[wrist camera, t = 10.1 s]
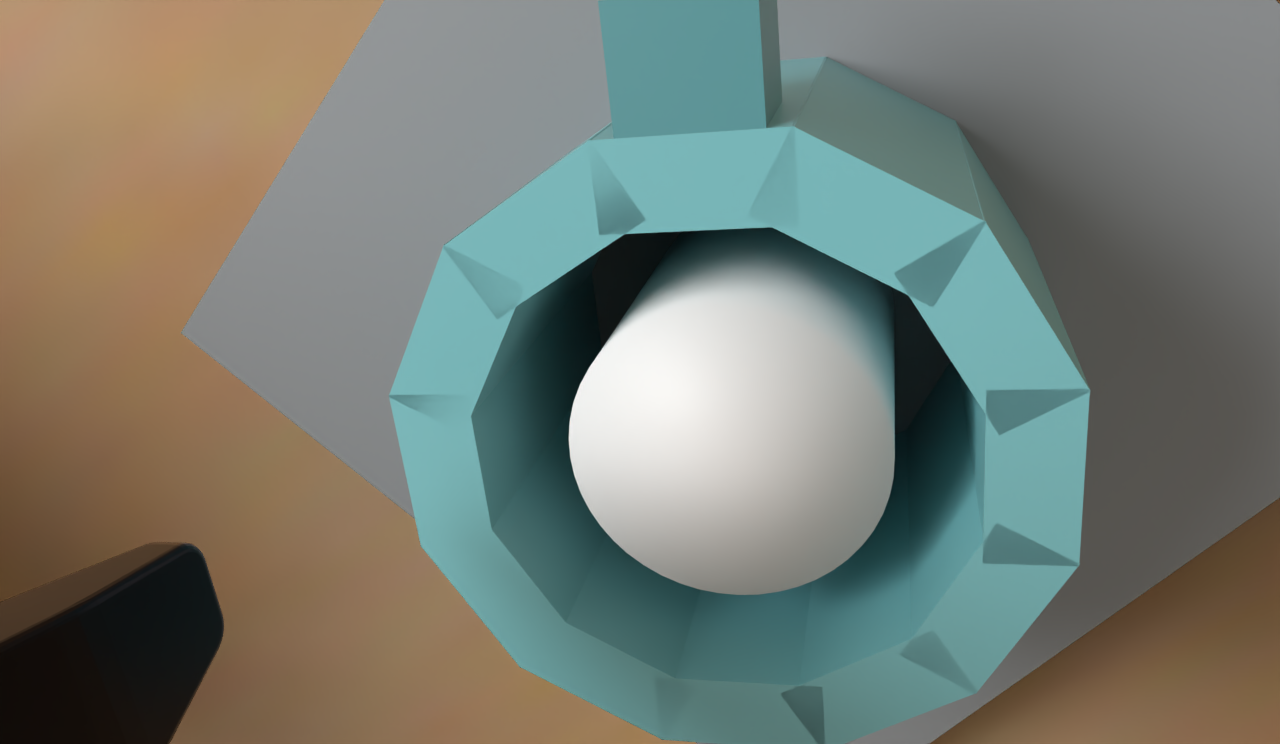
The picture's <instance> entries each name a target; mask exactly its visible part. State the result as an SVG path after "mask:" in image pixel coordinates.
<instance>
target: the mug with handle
mask: <svg viewBox="0 0 1280 744" xmlns="http://www.w3.org/2000/svg"><path fill="white" fill-rule="evenodd" d="M598 6H599V15H600V23H601V32H602V41H603V50H604V58H605V67H606V76H607V85H608V94H609V102H610V111H611V120H612V122H611V123H609V124H608V125H606V126H605V127H604V128H602V129H601V130H600V131H598V132H597V133H595V134H594V135H593V136H591V137H590V138H589V139H587V140H586V141H584V142H583V143H582V144H580V145H578V146H577V147H576V148H574V149H573V150H571V151H570V152H569V153H567V154H566V155H565V156H563V157H562V158H561V159H559V160H558V161H557V162H555V163H554V164H553V165H551V166H550V167H548V168H547V169H546V170H544V171H543V172H542V173H540V174H539V175H538V176H536V177H535V178H534V179H532V180H531V181H530V182H528V183H527V184H525V185H524V186H523V187H521V188H520V189H519V190H517V191H516V192H515V193H513V194H512V195H511V196H509V197H508V198H507V199H505V200H504V201H502V202H501V203H500V204H498V205H497V206H496V207H494V208H493V209H492V210H490V211H489V212H488V213H486V214H485V215H484V216H482V217H481V218H479V219H478V220H477V221H475V222H474V223H473V224H471V225H470V226H469V227H467V228H466V229H465V230H463V231H462V232H461V233H459V234H458V235H457V236H455V237H454V238H452V239H451V240H450V241H448V242H447V243H446V244H444V246H443V248H442V251H441V254H440V257H439V259H438V262H437V265H436V268H435V270H434V273H433V276H432V279H431V281H430V284H429V287H428V290H427V292H426V295H425V298H424V301H423V303H422V306H421V309H420V312H419V315H418V317H417V320H416V323H415V326H414V328H413V331H412V334H411V337H410V339H409V342H408V345H407V348H406V350H405V353H404V356H403V359H402V361H401V364H400V367H399V370H398V372H397V375H396V378H395V381H394V383H393V386H392V389H391V392H390V394H389V399H390V404H391V408H392V413H393V418H394V422H395V427H396V432H397V436H398V441H399V446H400V450H401V455H402V460H403V464H404V469H405V474H406V478H407V483H408V488H409V492H410V497H411V502H412V507H413V511H414V516H415V521H416V525H417V530H418V535H419V539H420V544H421V545H420V546H421V547H422V548H423V549H424V550H425V552H426V553H427V554H428V555H429V557H430V558H431V559H432V560H433V561H434V563H435V564H436V565H437V566H438V568H439V569H440V570H441V571H442V572H443V574H444V575H445V576H446V577H447V579H448V580H449V581H450V582H451V583H452V585H453V586H454V587H455V588H456V590H457V591H458V592H459V593H460V594H461V596H462V597H463V598H464V599H465V601H466V602H467V603H468V604H469V605H470V607H471V608H472V609H473V610H474V612H475V613H476V614H477V615H478V616H479V618H480V619H481V620H482V621H483V623H484V624H485V625H486V626H487V627H488V629H489V630H490V631H491V632H492V634H493V635H494V636H495V637H496V638H497V640H498V641H499V642H500V643H501V645H502V646H503V647H504V648H505V649H506V651H507V652H508V653H509V654H510V656H511V657H512V658H513V659H514V660H515V662H516V663H517V664H518V665H519V667H520V668H523V669H525V670H527V671H529V672H531V673H533V674H535V675H537V676H539V677H541V678H543V679H545V680H547V681H548V682H550V683H552V684H554V685H556V686H558V687H560V688H562V689H564V690H566V691H568V692H570V693H572V694H574V695H576V696H578V697H580V698H582V699H584V700H586V701H588V702H590V703H592V704H594V705H596V706H598V707H599V708H601V709H603V710H605V711H607V712H609V713H611V714H613V715H615V716H617V717H619V718H621V719H623V720H625V721H627V722H629V723H631V724H633V725H635V726H637V727H639V728H641V729H643V730H645V731H647V732H648V733H650V734H652V735H654V736H656V737H658V738H660V739H661V740H675V741H688V742H702V743H716V744H845V743H848V742H850V741H853V740H855V739H858V738H861V737H863V736H866V735H868V734H871V733H874V732H876V731H879V730H881V729H884V728H887V727H889V726H892V725H894V724H897V723H900V722H902V721H905V720H908V719H910V718H913V717H915V716H918V715H921V714H923V713H926V712H928V711H931V710H934V709H936V708H939V707H941V706H944V705H947V704H949V703H952V702H954V701H957V700H960V699H962V698H965V697H968V696H970V695H973V694H976V693H977V692H978V690H979V689H980V688H981V687H982V685H983V684H984V683H985V682H986V681H987V679H988V678H989V677H990V676H991V674H992V673H993V672H994V671H995V669H996V668H997V667H998V666H999V664H1000V663H1001V662H1002V661H1003V659H1004V658H1005V657H1006V656H1007V654H1008V653H1009V652H1010V651H1011V649H1012V648H1013V647H1014V646H1015V644H1016V643H1017V642H1018V641H1019V639H1020V638H1021V637H1022V636H1023V634H1024V633H1025V632H1026V631H1027V630H1028V628H1029V627H1030V626H1031V625H1032V623H1033V622H1034V621H1035V620H1036V618H1037V617H1038V616H1039V615H1040V613H1041V612H1042V611H1043V610H1044V608H1045V607H1046V606H1047V605H1048V603H1049V602H1050V601H1051V600H1052V598H1053V597H1054V596H1055V595H1056V593H1057V592H1058V591H1059V590H1060V588H1061V587H1062V586H1063V585H1064V584H1065V582H1066V581H1067V580H1068V579H1069V577H1070V576H1071V575H1072V574H1073V572H1074V571H1075V570H1076V569H1077V567H1078V566H1079V565H1080V563H1079V560H1080V544H1081V528H1082V511H1083V495H1084V479H1085V462H1086V446H1087V430H1088V413H1089V397H1090V388H1089V385H1088V383H1087V381H1086V378H1085V376H1084V373H1083V371H1082V368H1081V366H1080V364H1079V361H1078V359H1077V356H1076V354H1075V352H1074V349H1073V347H1072V344H1071V342H1070V339H1069V337H1068V335H1067V332H1066V330H1065V327H1064V325H1063V322H1062V320H1061V318H1060V315H1059V313H1058V310H1057V308H1056V305H1055V303H1054V301H1053V298H1052V296H1051V293H1050V291H1049V288H1048V286H1047V284H1046V281H1045V279H1044V276H1043V274H1042V271H1041V269H1040V267H1039V264H1038V262H1037V259H1036V257H1035V254H1034V252H1033V250H1032V247H1031V245H1030V242H1029V240H1028V238H1027V237H1026V235H1025V234H1024V232H1023V230H1022V229H1021V227H1020V225H1019V224H1018V222H1017V221H1016V219H1015V217H1014V216H1013V214H1012V212H1011V211H1010V209H1009V207H1008V206H1007V204H1006V203H1005V201H1004V199H1003V198H1002V196H1001V194H1000V193H999V191H998V190H997V188H996V186H995V185H994V183H993V181H992V180H991V178H990V176H989V175H988V173H987V172H986V170H985V168H984V167H983V165H982V163H981V162H980V160H979V159H978V157H977V155H976V154H975V152H974V150H973V149H972V147H971V145H970V144H969V142H968V141H967V139H966V137H965V136H964V134H963V132H962V131H961V129H960V127H959V126H958V124H957V122H956V121H955V120H953V119H951V118H949V117H947V116H945V115H943V114H941V113H939V112H937V111H935V110H933V109H931V108H929V107H927V106H925V105H923V104H921V103H919V102H917V101H915V100H913V99H911V98H908V97H906V96H904V95H902V94H900V93H898V92H896V91H894V90H892V89H890V88H888V87H886V86H884V85H882V84H880V83H878V82H876V81H874V80H872V79H870V78H868V77H866V76H864V75H862V74H860V73H858V72H856V71H854V70H852V69H850V68H848V67H846V66H844V65H842V64H840V63H838V62H836V61H834V60H832V59H830V58H828V57H826V56H825V57H816V58H804V59H792V60H780V47H779V28H778V9H777V0H599V1H598ZM766 227H772V228H774V229H776V230H778V231H780V232H782V233H784V234H786V235H788V236H790V237H792V238H794V239H796V240H798V241H800V242H802V243H804V244H806V245H808V246H810V247H812V248H814V249H816V250H818V251H820V252H822V253H825V254H827V255H829V256H831V257H833V258H835V259H837V260H839V261H841V262H843V263H845V264H847V265H849V266H851V267H853V268H855V269H857V270H859V271H861V272H863V273H865V274H867V275H869V276H871V277H873V278H875V279H877V280H879V281H881V282H883V283H885V284H887V285H889V286H891V287H893V288H895V289H897V290H899V291H901V292H903V293H905V294H907V295H908V296H909V297H910V299H911V300H912V302H913V303H914V305H915V306H916V308H917V309H918V311H919V312H920V314H921V316H922V317H923V319H924V320H925V322H926V323H927V325H928V326H929V328H930V329H931V331H932V332H933V334H934V336H935V337H936V339H937V340H938V342H939V343H940V345H941V346H942V348H943V349H944V351H945V352H946V354H947V356H948V357H949V359H950V360H951V362H950V363H949V365H948V366H947V368H946V369H945V371H944V373H943V374H942V376H941V377H940V379H939V380H938V382H937V383H936V385H935V386H934V388H933V389H932V391H931V393H930V394H929V396H928V397H927V399H926V400H925V402H924V403H923V405H922V406H921V408H920V409H919V411H918V412H917V414H916V416H915V417H914V419H913V420H912V422H911V423H910V425H909V426H908V428H907V429H906V430H904V431H903V432H901V433H899V434H897V435H895V461H894V478H893V483H892V488H891V492H890V497H889V499H888V502H887V505H886V507H885V510H884V513H883V515H882V517H881V518H880V520H879V522H878V524H877V526H876V527H875V529H874V531H873V532H872V533H871V535H870V536H869V537H868V539H867V540H866V541H865V543H864V544H863V545H862V546H861V547H860V548H859V549H858V550H857V551H856V552H855V553H854V554H853V555H852V556H851V557H850V558H849V559H848V560H846V561H845V562H844V563H842V564H841V565H840V566H838V567H837V568H835V569H834V570H833V571H831V572H829V573H827V574H825V575H824V576H822V577H820V578H818V579H816V580H814V581H811V582H809V583H806V584H804V585H801V586H799V587H795V588H791V589H788V590H784V591H780V592H774V593H766V594H759V595H733V594H722V593H715V592H710V591H705V590H700V589H696V588H693V587H690V586H687V585H684V584H680V583H678V582H676V581H673V580H671V579H669V578H666V577H664V576H662V575H660V574H658V573H656V572H655V571H653V570H651V569H649V568H648V567H646V566H644V565H643V564H641V563H640V562H639V561H637V560H636V559H634V558H633V557H632V556H630V555H629V554H628V553H626V552H625V551H624V550H623V549H622V548H621V547H620V546H619V545H618V544H617V543H615V542H614V541H613V540H612V539H611V537H610V536H609V535H608V534H607V533H606V532H605V531H604V529H603V528H602V527H601V526H600V525H599V523H598V522H597V520H596V519H595V517H594V516H593V514H592V513H591V511H590V510H589V508H588V506H587V504H586V502H585V500H584V498H583V497H582V495H581V492H580V490H579V487H578V484H577V482H576V479H575V476H574V472H573V468H572V463H571V459H570V449H569V424H570V417H571V412H572V407H573V402H574V399H575V397H576V394H577V391H578V389H579V386H580V384H581V382H582V380H583V378H584V376H585V374H586V373H587V371H588V369H589V367H590V366H591V364H592V363H593V361H594V360H595V358H596V357H597V355H598V354H599V352H600V351H601V349H602V347H601V339H600V332H599V324H598V316H597V308H596V300H595V292H594V285H593V277H592V271H593V268H594V266H595V264H596V262H597V259H598V257H599V255H600V252H601V250H602V249H603V248H605V247H606V246H608V245H609V244H611V243H612V242H614V241H615V240H617V239H618V238H620V237H621V236H623V235H624V234H635V233H657V232H678V231H700V230H722V229H744V228H766Z"/></svg>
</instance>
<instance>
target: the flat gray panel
mask: <svg viewBox="0 0 1280 744" xmlns="http://www.w3.org/2000/svg"><path fill="white" fill-rule="evenodd" d="M598 1H599V0H384V2H383V4H382V5H381V7H380V8H379V10H378V12H377V13H376V15H375V17H374V18H373V20H372V22H371V23H370V25H369V26H368V28H367V30H366V31H365V33H364V35H363V36H362V38H361V39H360V41H359V43H358V44H357V46H356V48H355V49H354V51H353V53H352V54H351V56H350V57H349V59H348V61H347V62H346V64H345V66H344V67H343V69H342V71H341V72H340V74H339V75H338V77H337V79H336V80H335V82H334V84H333V85H332V87H331V88H330V90H329V92H328V93H327V95H326V97H325V98H324V100H323V102H322V103H321V105H320V106H319V108H318V110H317V111H316V113H315V115H314V116H313V118H312V119H311V121H310V123H309V124H308V126H307V128H306V129H305V131H304V133H303V134H302V136H301V137H300V139H299V141H298V142H297V144H296V146H295V147H294V149H293V150H292V152H291V154H290V155H289V157H288V159H287V160H286V162H285V164H284V165H283V167H282V168H281V170H280V172H279V173H278V175H277V177H276V178H275V180H274V181H273V183H272V185H271V186H270V188H269V190H268V191H267V193H266V195H265V196H264V198H263V199H262V201H261V203H260V204H259V206H258V208H257V209H256V211H255V212H254V214H253V216H252V217H251V219H250V221H249V222H248V224H247V226H246V227H245V229H244V230H243V232H242V234H241V235H240V237H239V239H238V240H237V242H236V243H235V245H234V247H233V248H232V250H231V252H230V253H229V255H228V257H227V258H226V260H225V261H224V263H223V265H222V266H221V268H220V270H219V271H218V273H217V274H216V276H215V278H214V279H213V281H212V283H211V284H210V286H209V288H208V289H207V291H206V292H205V294H204V296H203V297H202V299H201V301H200V302H199V304H198V305H197V307H196V309H195V310H194V312H193V314H192V315H191V317H190V319H189V320H188V322H187V323H186V325H185V327H184V328H183V330H182V332H181V333H182V334H183V335H184V336H185V337H187V338H188V339H189V340H190V341H192V342H193V343H194V344H195V345H197V346H198V347H199V348H200V349H202V350H203V351H204V352H206V353H207V354H208V355H209V356H211V357H212V358H213V359H214V360H216V361H217V362H218V363H219V364H221V365H222V366H223V367H224V368H226V369H227V370H228V371H229V372H231V373H232V374H233V375H234V376H236V377H237V378H238V379H239V380H241V381H242V382H243V383H244V384H246V385H247V386H248V387H250V388H251V389H252V390H253V391H255V392H256V393H257V394H258V395H260V396H261V397H262V398H263V399H265V400H266V401H267V402H268V403H270V404H271V405H272V406H273V407H275V408H276V409H277V410H278V411H280V412H281V413H282V414H283V415H285V416H286V417H287V418H288V419H290V420H291V421H292V422H294V423H295V424H296V425H297V426H299V427H300V428H301V429H302V430H304V431H305V432H306V433H307V434H309V435H310V436H311V437H312V438H314V439H315V440H316V441H317V442H319V443H320V444H321V445H322V446H324V447H325V448H326V449H327V450H329V451H330V452H331V453H333V454H334V455H335V456H336V457H338V458H339V459H340V460H341V461H343V462H344V463H345V464H346V465H348V466H349V467H350V468H351V469H353V470H354V471H355V472H356V473H358V474H359V475H360V476H361V477H363V478H364V479H365V480H366V481H368V482H369V483H370V484H371V485H373V486H374V487H375V488H377V489H378V490H379V491H380V492H382V493H383V494H384V495H385V496H387V497H388V498H389V499H390V500H392V501H393V502H394V503H395V504H397V505H398V506H399V507H400V508H402V509H403V510H404V511H405V512H407V513H408V514H409V515H410V516H412V517H413V518H414V519H415V516H414V511H413V507H412V502H411V497H410V492H409V488H408V483H407V478H406V474H405V469H404V464H403V460H402V455H401V450H400V446H399V441H398V436H397V432H396V427H395V422H394V418H393V413H392V408H391V404H390V399H389V394H390V392H391V389H392V386H393V383H394V381H395V378H396V375H397V372H398V370H399V367H400V364H401V361H402V359H403V356H404V353H405V350H406V348H407V345H408V342H409V339H410V337H411V334H412V331H413V328H414V326H415V323H416V320H417V317H418V315H419V312H420V309H421V306H422V303H423V301H424V298H425V295H426V292H427V290H428V287H429V284H430V281H431V279H432V276H433V273H434V270H435V268H436V265H437V262H438V259H439V257H440V254H441V251H442V248H443V246H444V244H446V243H447V242H448V241H450V240H451V239H452V238H454V237H455V236H457V235H458V234H459V233H461V232H462V231H463V230H465V229H466V228H467V227H469V226H470V225H471V224H473V223H474V222H475V221H477V220H478V219H479V218H481V217H482V216H484V215H485V214H486V213H488V212H489V211H490V210H492V209H493V208H494V207H496V206H497V205H498V204H500V203H501V202H502V201H504V200H505V199H507V198H508V197H509V196H511V195H512V194H513V193H515V192H516V191H517V190H519V189H520V188H521V187H523V186H524V185H525V184H527V183H528V182H530V181H531V180H532V179H534V178H535V177H536V176H538V175H539V174H540V173H542V172H543V171H544V170H546V169H547V168H548V167H550V166H551V165H553V164H554V163H555V162H557V161H558V160H559V159H561V158H562V157H563V156H565V155H566V154H567V153H569V152H570V151H571V150H573V149H574V148H576V147H577V146H578V145H580V144H582V143H583V142H584V141H586V140H587V139H589V138H590V137H591V136H593V135H594V134H595V133H597V132H598V131H600V130H601V129H602V128H604V127H605V126H606V125H608V124H609V123H611V122H612V120H611V111H610V102H609V94H608V85H607V76H606V67H605V58H604V50H603V41H602V32H601V23H600V15H599V6H598ZM777 9H778V28H779V47H780V60H792V59H804V58H816V57H825V56H826V57H828V58H830V59H832V60H834V61H836V62H838V63H840V64H842V65H844V66H846V67H848V68H850V69H852V70H854V71H856V72H858V73H860V74H862V75H864V76H866V77H868V78H870V79H872V80H874V81H876V82H878V83H880V84H882V85H884V86H886V87H888V88H890V89H892V90H894V91H896V92H898V93H900V94H902V95H904V96H906V97H908V98H911V99H913V100H915V101H917V102H919V103H921V104H923V105H925V106H927V107H929V108H931V109H933V110H935V111H937V112H939V113H941V114H943V115H945V116H947V117H949V118H951V119H953V120H955V121H956V122H957V124H958V126H959V127H960V129H961V131H962V132H963V134H964V136H965V137H966V139H967V141H968V142H969V144H970V145H971V147H972V149H973V150H974V152H975V154H976V155H977V157H978V159H979V160H980V162H981V163H982V165H983V167H984V168H985V170H986V172H987V173H988V175H989V176H990V178H991V180H992V181H993V183H994V185H995V186H996V188H997V190H998V191H999V193H1000V194H1001V196H1002V198H1003V199H1004V201H1005V203H1006V204H1007V206H1008V207H1009V209H1010V211H1011V212H1012V214H1013V216H1014V217H1015V219H1016V221H1017V222H1018V224H1019V225H1020V227H1021V229H1022V230H1023V232H1024V234H1025V235H1026V237H1027V238H1028V240H1029V242H1030V245H1031V247H1032V250H1033V252H1034V254H1035V257H1036V259H1037V262H1038V264H1039V267H1040V269H1041V271H1042V274H1043V276H1044V279H1045V281H1046V284H1047V286H1048V288H1049V291H1050V293H1051V296H1052V298H1053V301H1054V303H1055V305H1056V308H1057V310H1058V313H1059V315H1060V318H1061V320H1062V322H1063V325H1064V327H1065V330H1066V332H1067V335H1068V337H1069V339H1070V342H1071V344H1072V347H1073V349H1074V352H1075V354H1076V356H1077V359H1078V361H1079V364H1080V366H1081V368H1082V371H1083V373H1084V376H1085V378H1086V381H1087V383H1088V385H1089V388H1090V397H1089V413H1088V430H1087V446H1086V462H1085V479H1084V495H1083V511H1082V528H1081V544H1080V560H1079V563H1080V565H1079V566H1078V567H1077V569H1076V570H1075V571H1074V572H1073V574H1072V575H1071V576H1070V577H1069V579H1068V580H1067V581H1066V582H1065V584H1064V585H1063V586H1062V587H1061V588H1060V590H1059V591H1058V592H1057V593H1056V595H1055V596H1054V597H1053V598H1052V600H1051V601H1050V602H1049V603H1048V605H1047V606H1046V607H1045V608H1044V610H1043V611H1042V612H1041V613H1040V615H1039V616H1038V617H1037V618H1036V620H1035V621H1034V622H1033V623H1032V625H1031V626H1030V627H1029V628H1028V630H1027V631H1026V632H1025V633H1024V634H1023V636H1022V637H1021V638H1020V639H1019V641H1018V642H1017V643H1016V644H1015V646H1014V647H1013V648H1012V649H1011V651H1010V652H1009V653H1008V654H1007V656H1006V657H1005V658H1004V659H1003V661H1002V662H1001V663H1000V664H999V666H998V667H997V668H996V669H995V671H994V672H993V673H992V674H991V676H990V677H989V678H988V679H987V681H986V682H985V683H984V684H983V685H982V687H981V688H980V689H979V690H978V692H977V693H976V694H973V695H970V696H968V697H965V698H962V699H960V700H957V701H954V702H952V703H949V704H947V705H944V706H941V707H939V708H936V709H934V710H931V711H928V712H926V713H923V714H921V715H918V716H915V717H913V718H910V719H908V720H905V721H902V722H900V723H897V724H894V725H892V726H889V727H887V728H884V729H881V730H879V731H876V732H874V733H871V734H868V735H866V736H863V737H861V738H858V739H855V740H853V741H850V742H848V743H845V744H929V743H931V742H932V741H934V740H935V739H937V738H938V737H939V736H941V735H942V734H944V733H945V732H947V731H948V730H949V729H951V728H952V727H954V726H955V725H957V724H958V723H959V722H961V721H962V720H964V719H965V718H967V717H968V716H969V715H971V714H972V713H974V712H975V711H976V710H978V709H979V708H981V707H982V706H984V705H985V704H986V703H988V702H989V701H991V700H992V699H994V698H995V697H996V696H998V695H999V694H1001V693H1002V692H1004V691H1005V690H1006V689H1008V688H1009V687H1011V686H1012V685H1014V684H1015V683H1016V682H1018V681H1019V680H1021V679H1022V678H1023V677H1025V676H1026V675H1028V674H1029V673H1031V672H1032V671H1033V670H1035V669H1036V668H1038V667H1039V666H1041V665H1042V664H1043V663H1045V662H1046V661H1048V660H1049V659H1051V658H1052V657H1053V656H1055V655H1056V654H1058V653H1059V652H1061V651H1062V650H1063V649H1065V648H1066V647H1068V646H1069V645H1071V644H1072V643H1073V642H1075V641H1076V640H1078V639H1079V638H1080V637H1082V636H1083V635H1085V634H1086V633H1088V632H1089V631H1090V630H1092V629H1093V628H1095V627H1096V626H1098V625H1099V624H1100V623H1102V622H1103V621H1105V620H1106V619H1108V618H1109V617H1110V616H1112V615H1113V614H1115V613H1116V612H1118V611H1119V610H1120V609H1122V608H1123V607H1125V606H1126V605H1128V604H1129V603H1130V602H1132V601H1133V600H1135V599H1136V598H1137V597H1139V596H1140V595H1142V594H1143V593H1145V592H1146V591H1147V590H1149V589H1150V588H1152V587H1153V586H1155V585H1156V584H1157V583H1159V582H1160V581H1162V580H1163V579H1165V578H1166V577H1167V576H1169V575H1170V574H1172V573H1173V572H1175V571H1176V570H1177V569H1179V568H1180V567H1182V566H1183V565H1185V564H1186V563H1187V562H1189V561H1190V560H1192V559H1193V558H1194V557H1196V556H1197V555H1199V554H1200V553H1202V552H1203V551H1204V550H1206V549H1207V548H1209V547H1210V546H1212V545H1213V544H1214V543H1216V542H1217V541H1219V540H1220V539H1222V538H1223V537H1224V536H1226V535H1227V534H1229V533H1230V532H1232V531H1233V530H1234V529H1236V528H1237V527H1239V526H1240V525H1242V524H1243V523H1244V522H1246V521H1247V520H1249V519H1250V518H1251V517H1253V516H1254V515H1256V514H1257V513H1259V512H1260V511H1261V510H1263V509H1264V508H1266V507H1267V506H1269V505H1270V504H1271V503H1273V502H1274V501H1276V500H1277V499H1279V498H1280V4H1279V3H1278V2H1277V1H1276V0H777ZM592 277H593V285H594V292H595V300H596V308H597V316H598V324H599V332H600V339H601V347H602V349H601V351H600V352H599V354H598V355H597V357H596V358H595V360H594V361H593V363H592V364H591V366H590V367H589V369H588V371H587V373H586V374H585V376H584V378H583V380H582V382H581V384H580V386H579V389H578V391H577V394H576V397H575V399H574V402H573V407H572V412H571V417H570V424H569V449H570V459H571V463H572V468H573V472H574V476H575V479H576V482H577V484H578V487H579V490H580V492H581V495H582V497H583V498H584V500H585V502H586V504H587V506H588V508H589V510H590V511H591V513H592V514H593V516H594V517H595V519H596V520H597V522H598V523H599V525H600V526H601V527H602V528H603V529H604V531H605V532H606V533H607V534H608V535H609V536H610V537H611V539H612V540H613V541H614V542H615V543H617V544H618V545H619V546H620V547H621V548H622V549H623V550H624V551H625V552H626V553H628V554H629V555H630V556H632V557H633V558H634V559H636V560H637V561H639V562H640V563H641V564H643V565H644V566H646V567H648V568H649V569H651V570H653V571H655V572H656V573H658V574H660V575H662V576H664V577H666V578H669V579H671V580H673V581H676V582H678V583H680V584H684V585H687V586H690V587H693V588H696V589H700V590H705V591H710V592H715V593H722V594H733V595H759V594H766V593H774V592H780V591H784V590H788V589H791V588H795V587H799V586H801V585H804V584H806V583H809V582H811V581H814V580H816V579H818V578H820V577H822V576H824V575H825V574H827V573H829V572H831V571H833V570H834V569H835V568H837V567H838V566H840V565H841V564H842V563H844V562H845V561H846V560H848V559H849V558H850V557H851V556H852V555H853V554H854V553H855V552H856V551H857V550H858V549H859V548H860V547H861V546H862V545H863V544H864V543H865V541H866V540H867V539H868V537H869V536H870V535H871V533H872V532H873V531H874V529H875V527H876V526H877V524H878V522H879V520H880V518H881V517H882V515H883V513H884V510H885V507H886V505H887V502H888V499H889V497H890V492H891V488H892V483H893V478H894V461H895V435H897V434H899V433H901V432H903V431H904V430H906V429H907V428H908V426H909V425H910V423H911V422H912V420H913V419H914V417H915V416H916V414H917V412H918V411H919V409H920V408H921V406H922V405H923V403H924V402H925V400H926V399H927V397H928V396H929V394H930V393H931V391H932V389H933V388H934V386H935V385H936V383H937V382H938V380H939V379H940V377H941V376H942V374H943V373H944V371H945V369H946V368H947V366H948V365H949V363H950V362H951V360H950V359H949V357H948V356H947V354H946V352H945V351H944V349H943V348H942V346H941V345H940V343H939V342H938V340H937V339H936V337H935V336H934V334H933V332H932V331H931V329H930V328H929V326H928V325H927V323H926V322H925V320H924V319H923V317H922V316H921V314H920V312H919V311H918V309H917V308H916V306H915V305H914V303H913V302H912V300H911V299H910V297H909V296H908V295H907V294H905V293H903V292H901V291H899V290H897V289H895V288H893V287H891V286H889V285H887V284H885V283H883V282H881V281H879V280H877V279H875V278H873V277H871V276H869V275H867V274H865V273H863V272H861V271H859V270H857V269H855V268H853V267H851V266H849V265H847V264H845V263H843V262H841V261H839V260H837V259H835V258H833V257H831V256H829V255H827V254H825V253H822V252H820V251H818V250H816V249H814V248H812V247H810V246H808V245H806V244H804V243H802V242H800V241H798V240H796V239H794V238H792V237H790V236H788V235H786V234H784V233H782V232H780V231H778V230H776V229H774V228H772V227H766V228H744V229H722V230H700V231H678V232H657V233H635V234H624V235H623V236H621V237H620V238H618V239H617V240H615V241H614V242H612V243H611V244H609V245H608V246H606V247H605V248H603V249H602V250H601V252H600V255H599V257H598V259H597V262H596V264H595V266H594V268H593V271H592ZM696 743H697V744H716V743H702V742H696Z"/></svg>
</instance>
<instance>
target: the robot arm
mask: <svg viewBox="0 0 1280 744" xmlns="http://www.w3.org/2000/svg"><path fill="white" fill-rule="evenodd" d="M223 631H224V620H223V615H222V612H221V608H220V605H219V602H218V599H217V596H216V592H215V589H214V586H213V583H212V580H211V576H210V573H209V570H208V567H207V564H206V561H205V558H204V556H203V554H202V553H201V551H200V550H199V549H198V548H197V547H196V546H194V545H192V544H189V543H170V542H154V543H149V544H146V545H143V546H141V547H138V548H136V549H133V550H130V551H128V552H125V553H123V554H120V555H118V556H115V557H113V558H110V559H108V560H105V561H103V562H100V563H98V564H95V565H93V566H90V567H88V568H85V569H83V570H80V571H78V572H75V573H72V574H70V575H67V576H65V577H62V578H60V579H57V580H55V581H52V582H50V583H47V584H45V585H42V586H40V587H37V588H35V589H32V590H30V591H27V592H25V593H22V594H19V595H17V596H14V597H12V598H9V599H7V600H4V601H2V602H0V744H170V742H171V740H172V738H173V736H174V734H175V732H176V730H177V728H178V726H179V724H180V722H181V720H182V718H183V717H184V715H185V713H186V711H187V709H188V707H189V705H190V703H191V701H192V699H193V697H194V695H195V693H196V691H197V690H198V688H199V686H200V684H201V682H202V680H203V678H204V676H205V674H206V672H207V670H208V668H209V666H210V664H211V662H212V661H213V659H214V657H215V655H216V653H217V651H218V649H219V647H220V644H221V641H222V637H223Z"/></svg>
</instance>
